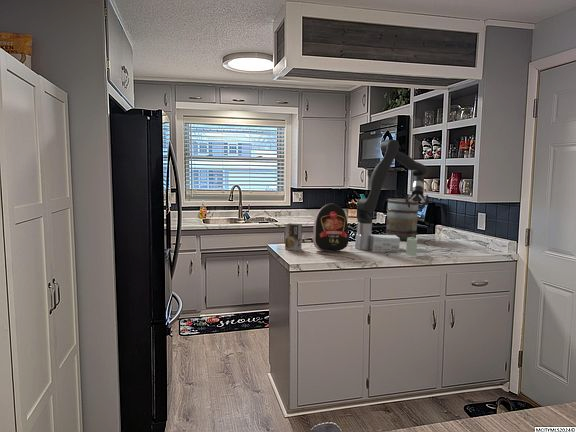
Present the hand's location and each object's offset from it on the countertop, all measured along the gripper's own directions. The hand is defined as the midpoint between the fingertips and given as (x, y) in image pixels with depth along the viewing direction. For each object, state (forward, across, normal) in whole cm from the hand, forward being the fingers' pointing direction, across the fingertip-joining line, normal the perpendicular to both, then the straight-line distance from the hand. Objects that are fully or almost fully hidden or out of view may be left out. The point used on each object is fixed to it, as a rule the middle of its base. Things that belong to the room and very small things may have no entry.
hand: (416, 207), depth 276 cm
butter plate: (+31, -1, +10) cm, 32 cm away
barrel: (-14, -11, +55) cm, 57 cm away
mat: (+21, +4, +20) cm, 29 cm away
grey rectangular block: (+30, -1, +9) cm, 32 cm away
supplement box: (+24, -18, +17) cm, 35 cm away
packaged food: (+39, -50, +2) cm, 63 cm away
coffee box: (+43, -72, -2) cm, 84 cm away
